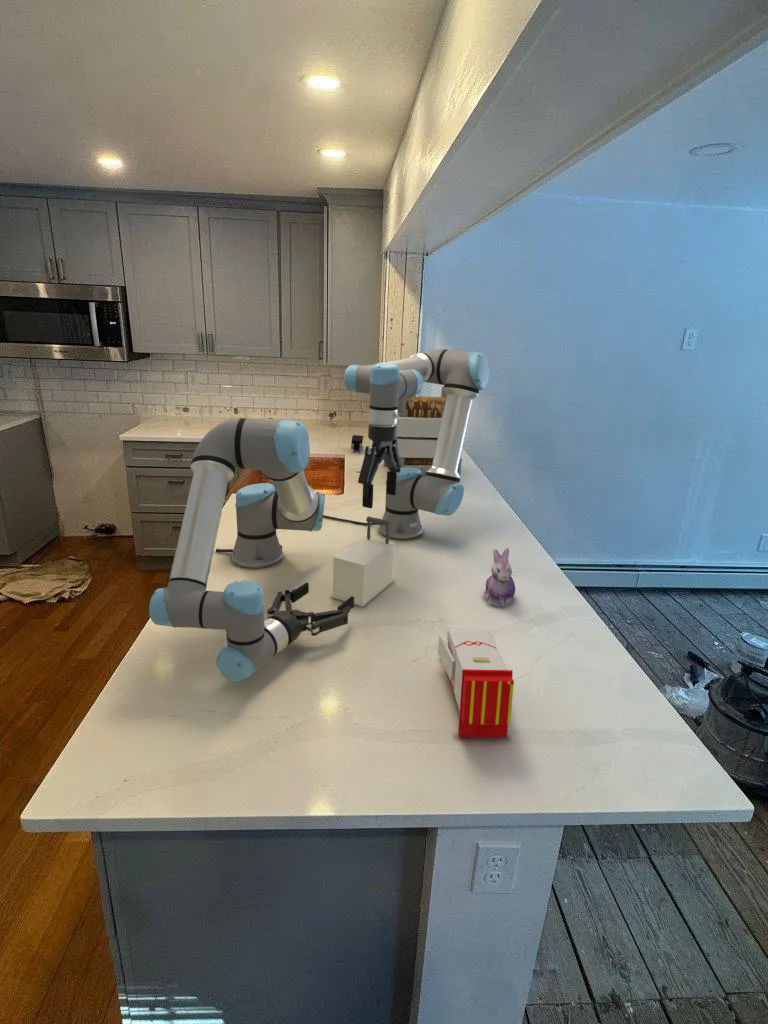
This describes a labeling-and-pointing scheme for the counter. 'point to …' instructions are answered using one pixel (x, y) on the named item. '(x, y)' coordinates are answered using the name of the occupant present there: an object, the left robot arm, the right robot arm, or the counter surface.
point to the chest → (362, 579)
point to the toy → (478, 682)
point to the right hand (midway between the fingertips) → (379, 500)
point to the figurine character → (356, 443)
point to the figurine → (500, 581)
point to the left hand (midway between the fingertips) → (329, 594)
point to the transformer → (419, 429)
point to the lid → (366, 547)
